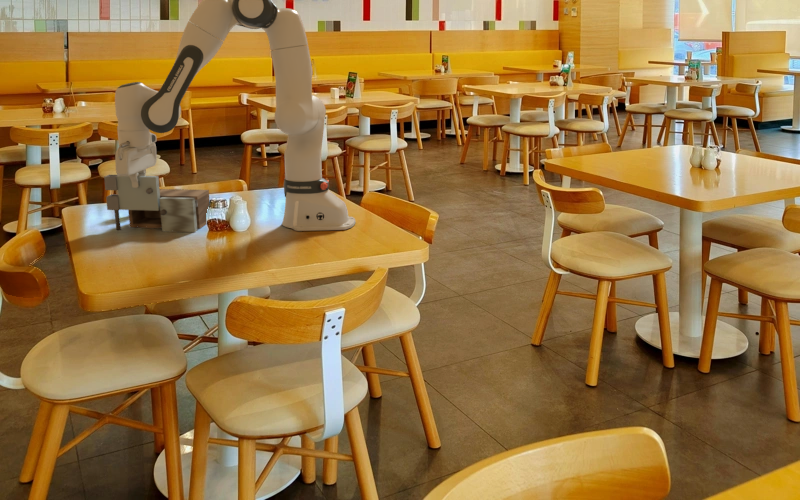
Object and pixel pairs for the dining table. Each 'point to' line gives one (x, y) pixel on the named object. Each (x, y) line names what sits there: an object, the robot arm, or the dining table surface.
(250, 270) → the dining table surface
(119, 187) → the door
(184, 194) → the cabinet
